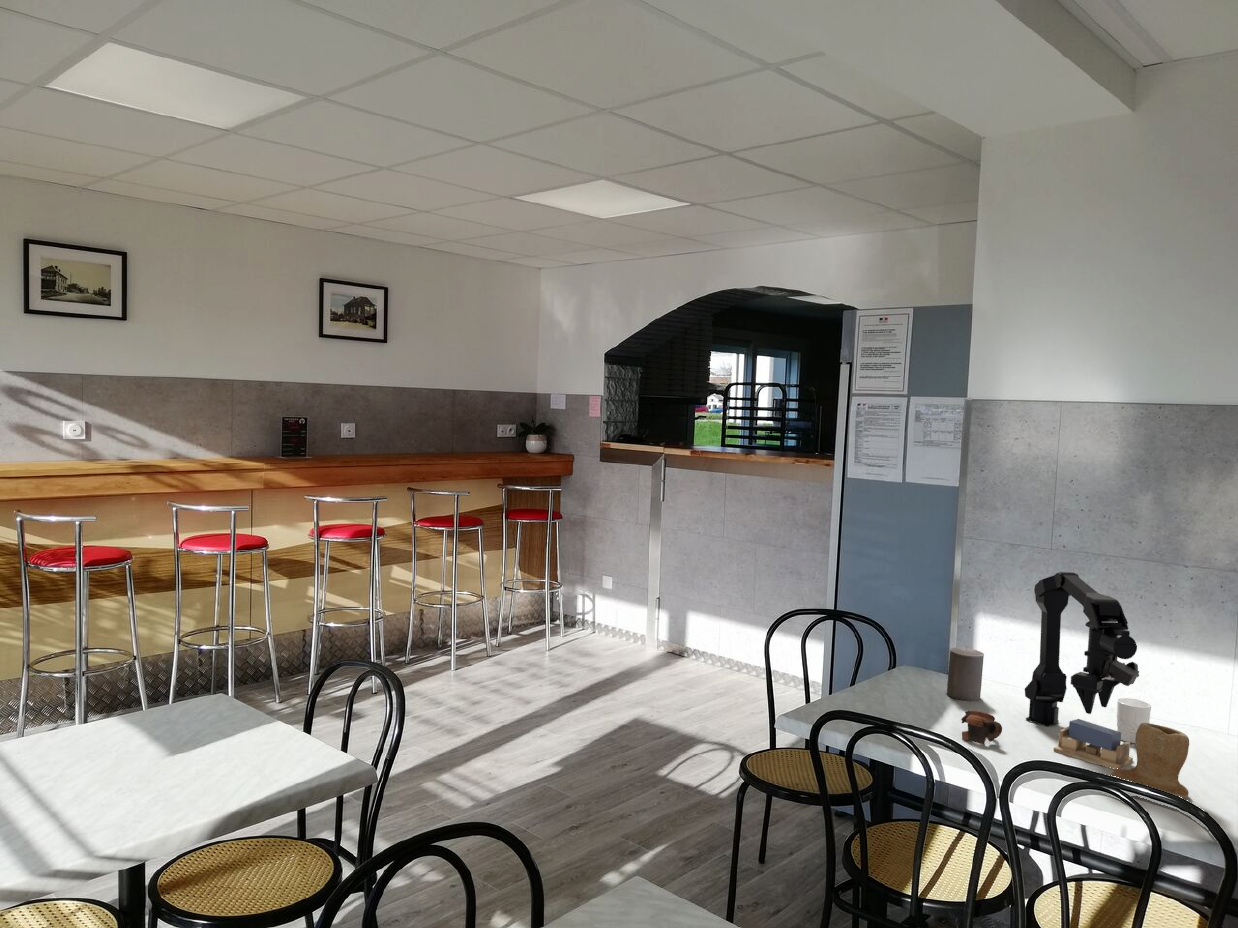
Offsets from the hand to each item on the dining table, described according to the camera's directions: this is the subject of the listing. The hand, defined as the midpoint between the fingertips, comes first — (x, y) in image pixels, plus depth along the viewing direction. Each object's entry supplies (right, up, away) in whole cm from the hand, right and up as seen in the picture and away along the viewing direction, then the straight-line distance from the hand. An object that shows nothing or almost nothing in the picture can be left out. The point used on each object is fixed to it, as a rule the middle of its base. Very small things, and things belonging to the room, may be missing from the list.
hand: (1096, 710), depth 231 cm
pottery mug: (-25, -11, +10) cm, 29 cm away
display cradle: (-1, -12, +1) cm, 12 cm away
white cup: (+17, -12, +14) cm, 25 cm away
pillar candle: (-16, -9, +47) cm, 50 cm away
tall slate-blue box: (0, -8, +1) cm, 8 cm away
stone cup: (+2, -13, -19) cm, 23 cm away
